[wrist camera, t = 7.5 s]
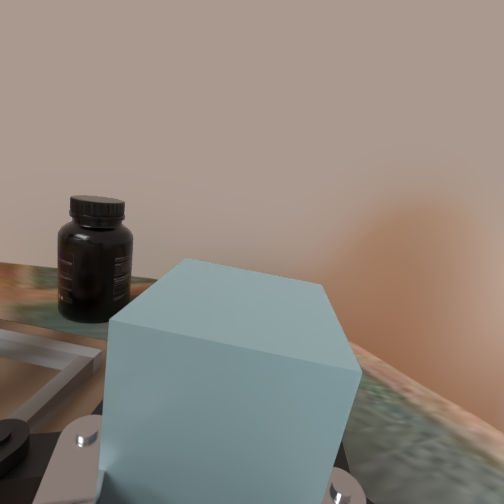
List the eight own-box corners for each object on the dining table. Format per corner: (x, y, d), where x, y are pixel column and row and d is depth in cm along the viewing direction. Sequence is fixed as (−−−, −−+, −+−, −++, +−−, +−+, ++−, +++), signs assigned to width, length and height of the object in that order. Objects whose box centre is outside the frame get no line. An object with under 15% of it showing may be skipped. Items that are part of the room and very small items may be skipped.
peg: (82, 688, 8) (109, 319, 6) (152, 505, 13) (185, 257, 11) (249, 731, 8) (362, 372, 6) (259, 529, 13) (321, 284, 10)
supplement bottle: (113, 292, 36) (119, 196, 33) (139, 315, 32) (149, 207, 29) (47, 302, 31) (48, 190, 28) (69, 331, 27) (72, 202, 24)
